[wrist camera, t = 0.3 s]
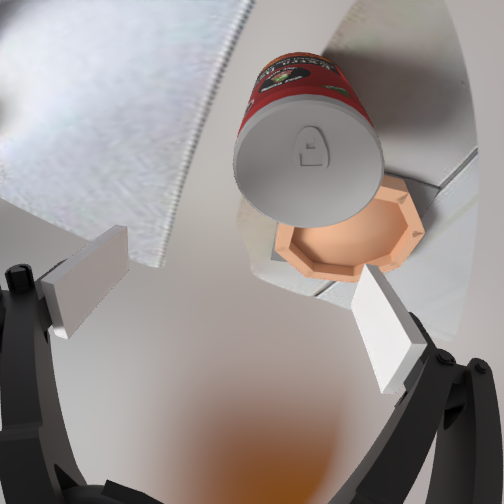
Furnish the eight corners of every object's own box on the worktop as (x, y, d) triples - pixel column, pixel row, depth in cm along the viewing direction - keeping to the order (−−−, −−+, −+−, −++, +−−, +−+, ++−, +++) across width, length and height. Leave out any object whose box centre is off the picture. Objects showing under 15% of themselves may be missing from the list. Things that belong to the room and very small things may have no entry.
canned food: (331, 38, 16) (368, 81, 9) (359, 124, 21) (392, 215, 15) (237, 68, 19) (200, 132, 12) (276, 145, 24) (268, 240, 18)
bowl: (291, 156, 24) (291, 169, 23) (439, 189, 24) (445, 202, 23) (270, 259, 37) (269, 272, 36) (382, 274, 37) (384, 286, 36)
